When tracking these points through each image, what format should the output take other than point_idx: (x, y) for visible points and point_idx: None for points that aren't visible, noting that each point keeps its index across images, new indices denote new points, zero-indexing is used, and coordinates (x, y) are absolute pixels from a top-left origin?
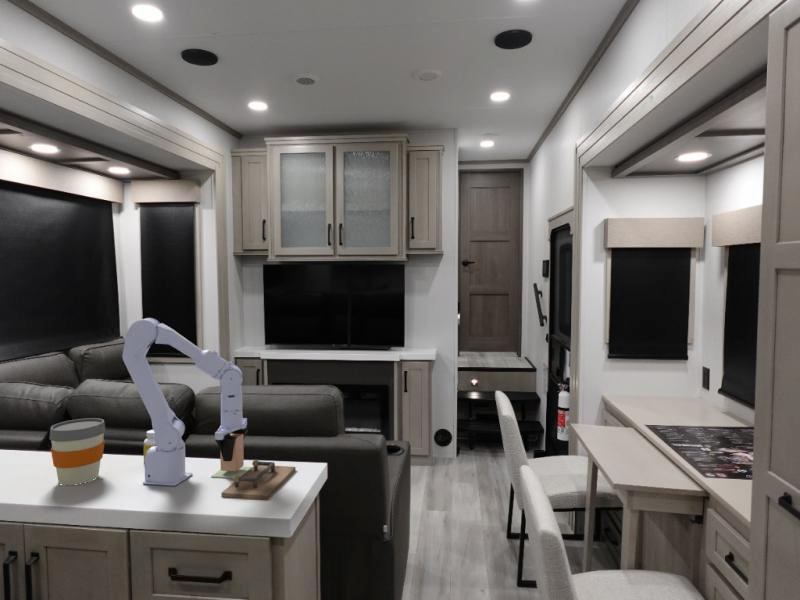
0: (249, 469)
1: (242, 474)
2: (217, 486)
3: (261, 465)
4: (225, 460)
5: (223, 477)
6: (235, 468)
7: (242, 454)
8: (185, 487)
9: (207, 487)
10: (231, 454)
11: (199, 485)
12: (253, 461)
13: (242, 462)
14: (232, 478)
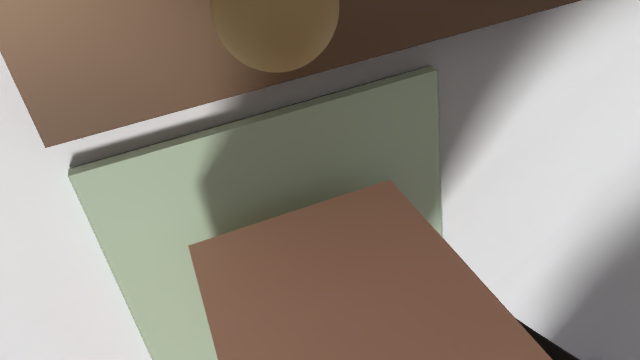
0: (155, 148)
1: (341, 103)
2: (603, 125)
3: (18, 31)
4: None
5: (439, 223)
6: (410, 202)
7: (260, 355)
8: (613, 305)
9: (619, 182)
10: (572, 357)
11: (584, 260)
12: (322, 45)
13: (232, 266)
14: (435, 135)
